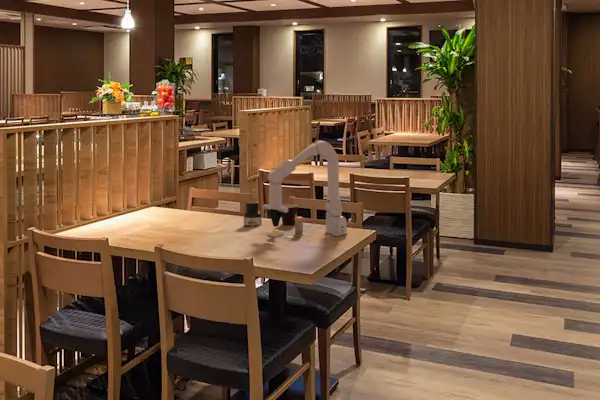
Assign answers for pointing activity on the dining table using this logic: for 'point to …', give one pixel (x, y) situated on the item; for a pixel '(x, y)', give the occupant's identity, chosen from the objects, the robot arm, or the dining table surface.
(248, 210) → the ink bottle
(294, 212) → the coffee mug
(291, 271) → the dining table surface
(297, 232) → the marker
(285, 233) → the board
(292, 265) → the dining table surface
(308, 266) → the dining table surface
